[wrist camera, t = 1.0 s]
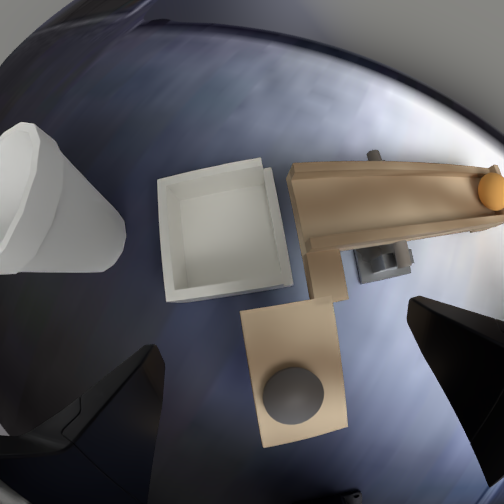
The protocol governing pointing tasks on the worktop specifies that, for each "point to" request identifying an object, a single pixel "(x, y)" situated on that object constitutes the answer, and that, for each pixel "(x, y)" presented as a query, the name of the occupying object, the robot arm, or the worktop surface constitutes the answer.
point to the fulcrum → (378, 263)
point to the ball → (492, 191)
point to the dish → (221, 232)
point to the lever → (333, 279)
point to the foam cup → (51, 210)
